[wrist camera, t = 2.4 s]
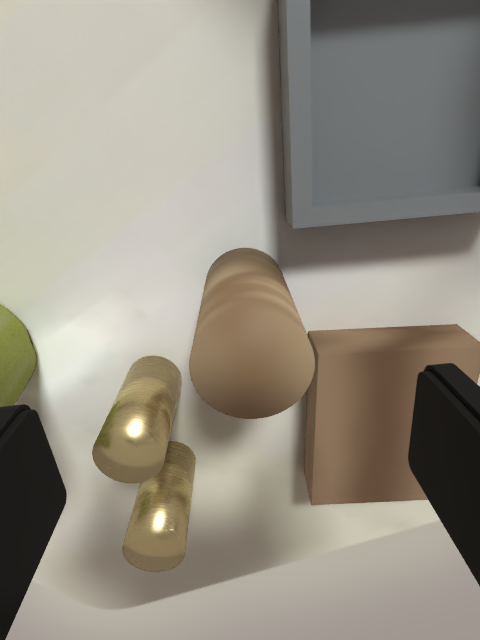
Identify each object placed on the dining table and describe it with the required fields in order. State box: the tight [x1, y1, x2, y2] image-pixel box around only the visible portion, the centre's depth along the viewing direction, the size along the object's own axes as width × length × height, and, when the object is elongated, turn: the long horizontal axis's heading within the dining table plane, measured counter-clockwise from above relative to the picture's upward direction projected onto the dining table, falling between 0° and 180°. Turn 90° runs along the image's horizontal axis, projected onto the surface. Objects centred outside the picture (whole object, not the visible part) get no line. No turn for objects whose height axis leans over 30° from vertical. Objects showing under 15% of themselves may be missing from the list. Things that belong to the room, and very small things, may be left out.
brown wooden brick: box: [304, 324, 480, 505], centre depth 22 cm, size 8×10×3 cm
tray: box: [277, 0, 480, 229], centre depth 15 cm, size 10×10×2 cm
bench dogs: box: [92, 356, 196, 572], centre depth 20 cm, size 3×9×6 cm, turn 5°
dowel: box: [189, 248, 315, 419], centre depth 16 cm, size 4×4×8 cm
